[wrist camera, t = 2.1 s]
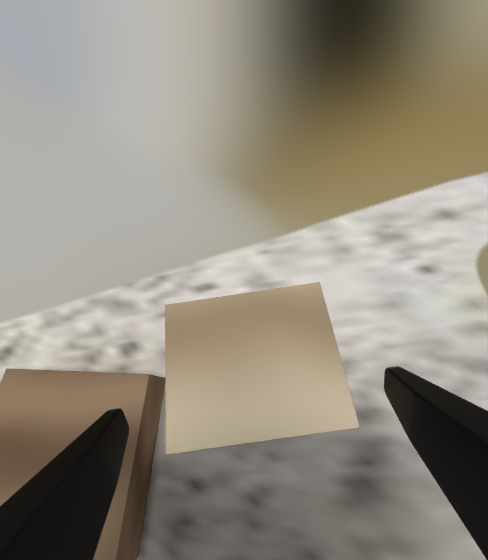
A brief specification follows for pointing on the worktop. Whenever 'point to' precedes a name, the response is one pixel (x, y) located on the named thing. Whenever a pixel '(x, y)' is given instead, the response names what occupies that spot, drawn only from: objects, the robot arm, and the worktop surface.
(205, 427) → the ash block
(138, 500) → the walnut block
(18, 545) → the robot arm
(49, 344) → the worktop surface
